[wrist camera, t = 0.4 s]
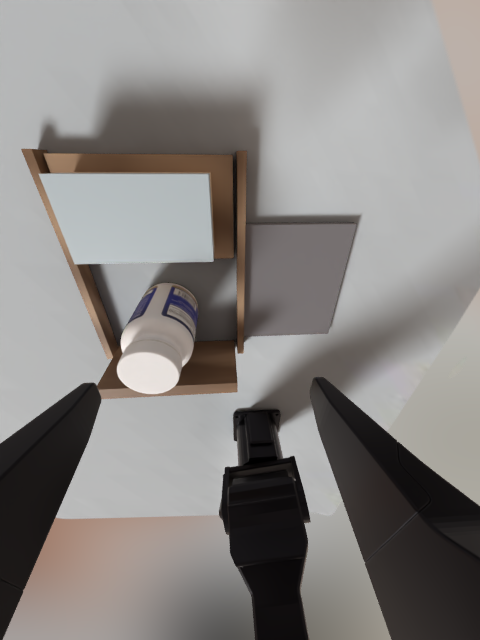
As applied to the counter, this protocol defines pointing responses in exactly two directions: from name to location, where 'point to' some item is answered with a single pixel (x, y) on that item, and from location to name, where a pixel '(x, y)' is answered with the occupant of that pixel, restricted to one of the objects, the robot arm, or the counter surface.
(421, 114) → the counter surface
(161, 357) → the pill bottle
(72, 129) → the counter surface
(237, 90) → the counter surface
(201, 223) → the offcut upper
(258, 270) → the mat
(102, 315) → the rack
